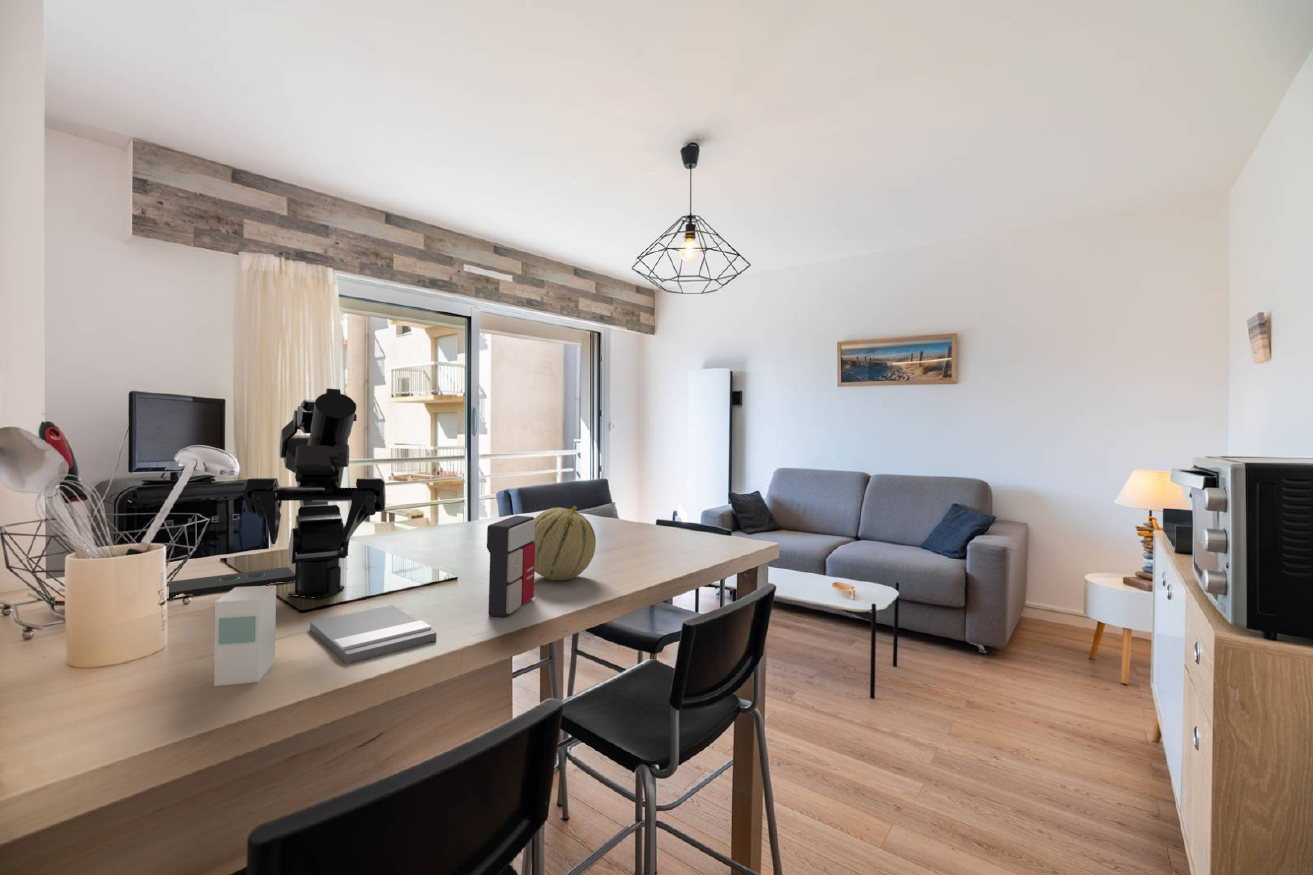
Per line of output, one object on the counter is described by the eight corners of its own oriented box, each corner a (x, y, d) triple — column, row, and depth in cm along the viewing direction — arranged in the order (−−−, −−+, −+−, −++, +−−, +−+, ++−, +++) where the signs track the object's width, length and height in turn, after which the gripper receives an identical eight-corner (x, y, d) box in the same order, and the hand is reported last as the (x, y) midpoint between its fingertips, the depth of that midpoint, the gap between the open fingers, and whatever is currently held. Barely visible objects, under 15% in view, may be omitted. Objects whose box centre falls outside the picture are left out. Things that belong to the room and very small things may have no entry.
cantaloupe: (511, 574, 120) (513, 502, 120) (575, 566, 128) (577, 499, 128) (538, 593, 108) (540, 513, 108) (607, 583, 116) (610, 509, 116)
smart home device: (296, 575, 110) (158, 593, 96) (296, 584, 110) (157, 603, 96) (288, 565, 116) (156, 582, 103) (287, 574, 116) (156, 591, 103)
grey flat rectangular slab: (346, 663, 75) (347, 651, 75) (310, 629, 86) (310, 618, 86) (436, 640, 84) (436, 629, 84) (392, 612, 95) (392, 602, 95)
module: (234, 664, 74) (235, 587, 73) (274, 661, 75) (276, 585, 75) (213, 686, 68) (214, 602, 67) (257, 682, 69) (259, 600, 69)
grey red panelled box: (508, 618, 94) (511, 527, 94) (484, 616, 95) (487, 525, 94) (536, 598, 105) (538, 516, 104) (514, 596, 106) (516, 515, 105)
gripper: (246, 423, 85) (219, 509, 75) (385, 427, 92) (377, 507, 82) (261, 471, 93) (237, 555, 83) (388, 472, 100) (381, 550, 90)
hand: (309, 541), depth 84 cm, fingers open, 9 cm apart
